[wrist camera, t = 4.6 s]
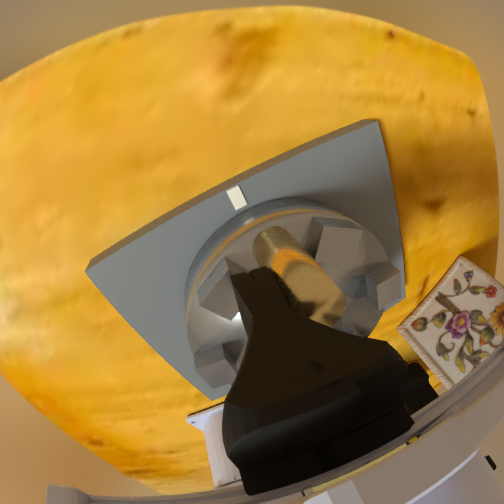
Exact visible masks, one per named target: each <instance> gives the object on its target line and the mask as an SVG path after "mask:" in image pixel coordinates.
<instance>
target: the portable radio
mask: <svg viewBox="0 0 504 504" xmlns="http://www.w3.org/2000/svg"><path fill="white" fill-rule="evenodd" d="M428 379H429V375H428V374H427V373H426V371H425V370H424V369H423V368H422V367H421V365H420V364H419V363H414V364H410V365H408V373H407V377H406V379H405V382H404V384H403V386H402V389H401V391H400V394H401V396H402V397H403V398H404V400H405V404H404V405H403V406H404V407H405V409H406V410H407V412H408V413H409V415H410V416H411V415H412V414H414V413H416V412H417V411H419V410H420V409H422V408H423V407H425V406H426V405H428V404H429V403H431V402H432V401H434V400H435V399H436V398H438V397H439V396H438V394H437V393H436V392H435V390H434V389H433V388H432V386H431V385H430V384H429V380H428ZM420 434H421V433H420ZM420 434H419V435H417V436H415V437H414V438H412V439H411V440H409V441H408V442H406V444H407V445H409V444H411V443H412V442H414V441H415V440H417V439H418V438H419V436H420ZM484 457H485V456H484ZM485 459H486V460H487V462H488V463H489V465H490V466H491V468H492V469H493V471H494V470H495V469H496V465H495V463H494V462H493V461H492V459H491V458H490V456H489V455H488V456H486V457H485Z"/></svg>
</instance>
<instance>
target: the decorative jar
mask: <svg viewBox="0 0 504 504" xmlns="http://www.w3.org/2000/svg"><path fill="white" fill-rule="evenodd" d="M397 330H398V332H399V333H400V334H401V335H402V336H403V338H404V339H405V340H406V341H407V343H408V344H409V345H410V346H411V347H412V349H413V350H414V351H415V352H416V353H417V354H418V355H419V357H420V358H421V359H422V360H423V362H424V363H425V364H426V365H427V366H428V367H429V369H430V370H431V371H432V372H433V373H434V374H435V375H436V376H437V378H438V379H439V380H440V381H441V382H442V383H443V384H444V385H445V387H446V388H447V389H448V390H449V389H450V388H451V387H453V386H454V385H455V384H456V383H458V382H459V381H460V380H462V379H463V378H464V377H465V376H466V375H468V374H469V373H470V372H471V371H472V370H474V369H475V368H476V367H477V366H478V365H479V364H480V363H482V362H483V361H484V360H485V359H486V358H487V357H488V356H489V355H490V354H491V353H492V352H493V351H494V350H496V349H497V348H498V347H499V346H500V345H501V341H502V339H503V338H504V286H503V285H502V284H501V283H500V282H498V281H497V280H496V279H495V278H493V277H492V276H491V275H489V274H488V273H487V272H486V271H484V270H483V269H482V268H480V267H479V266H477V265H476V264H475V263H473V262H471V261H470V260H468V259H467V258H465V257H463V256H459V257H457V259H456V260H455V262H454V263H453V264H452V266H451V267H450V268H449V269H448V271H447V272H446V273H445V275H444V276H443V277H442V279H441V280H440V281H439V282H438V284H437V285H436V286H435V287H434V288H433V289H432V290H431V291H430V293H429V294H428V295H427V296H426V297H425V298H424V300H423V301H422V302H421V303H420V304H419V305H418V306H417V307H416V309H415V310H414V311H413V312H412V313H411V314H410V315H409V316H408V317H407V318H406V319H405V320H404V321H403V322H402V323H401V324H400V325H399V326H398V328H397Z"/></svg>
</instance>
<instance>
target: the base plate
mask: <svg viewBox="0 0 504 504" xmlns="http://www.w3.org/2000/svg"><path fill="white" fill-rule="evenodd" d="M288 198H303V199H311V200H316V201H320V202H323V203H325V204H328V205H331V206H332V207H334V208H336V209H338V210H339V211H341V212H342V213H344V214H345V215H347V216H348V217H350V218H351V219H353V220H354V221H356V222H357V223H359V224H360V225H362V226H363V227H364V228H366V229H367V230H369V231H370V232H371V233H372V234H373V235H374V236H375V237H376V238H377V239H378V241H379V242H380V243H381V245H382V246H383V248H384V250H385V252H386V254H387V257H388V260H389V262H390V263H391V264H392V265H394V266H395V267H396V268H397V269H398V270H400V271H401V298H400V299H398V300H396V301H395V302H393V303H392V304H390V305H388V306H387V307H385V309H384V311H383V312H385V311H386V310H388V309H389V308H391V307H392V306H394V305H395V304H397V303H398V302H400V301H401V300H403V299H404V298H405V297H406V294H405V275H404V262H403V251H402V242H401V233H400V225H399V218H398V212H397V205H396V199H395V193H394V188H393V183H392V178H391V173H390V168H389V163H388V159H387V155H386V150H385V146H384V142H383V138H382V135H381V131H380V127H379V124H378V121H373V120H361V121H359V122H356V123H354V124H351V125H348V126H346V127H343V128H341V129H338V130H336V131H333V132H331V133H329V134H326V135H324V136H321V137H319V138H317V139H314V140H312V141H310V142H307V143H305V144H303V145H300V146H298V147H296V148H294V149H291V150H289V151H287V152H285V153H283V154H280V155H278V156H276V157H274V158H272V159H270V160H268V161H265V162H263V163H261V164H259V165H257V166H255V167H253V168H251V169H249V170H247V171H245V172H243V173H241V174H239V175H237V176H235V177H233V178H231V179H229V180H227V181H225V182H223V183H221V184H219V185H217V186H215V187H213V188H211V189H210V190H208V191H206V192H204V193H202V194H200V195H198V196H196V197H195V198H193V199H191V200H189V201H187V202H185V203H184V204H182V205H180V206H178V207H176V208H175V209H173V210H171V211H169V212H168V213H166V214H164V215H162V216H161V217H159V218H157V219H156V220H154V221H152V222H150V223H149V224H147V225H145V226H144V227H142V228H140V229H139V230H137V231H135V232H134V233H132V234H131V235H129V236H127V237H126V238H124V239H122V240H121V241H119V242H118V243H116V244H114V245H113V246H111V247H110V248H108V249H107V250H105V251H104V252H102V253H100V254H99V255H97V256H96V257H94V258H93V259H91V260H90V262H89V264H88V266H87V268H86V270H85V273H86V274H87V275H88V277H89V278H90V279H91V280H92V282H93V283H94V284H95V285H96V287H97V288H98V289H99V290H100V291H101V293H102V294H103V295H104V296H105V297H106V298H107V300H108V301H109V302H110V303H111V304H112V305H113V306H114V308H115V309H116V310H117V311H118V312H119V313H120V314H121V315H122V317H123V318H124V319H125V320H126V321H127V322H128V323H129V324H130V325H131V326H132V327H133V328H134V329H135V330H136V332H137V333H138V334H139V335H140V336H141V337H142V338H143V339H144V340H145V341H146V342H147V343H148V344H149V345H150V346H151V347H152V348H153V349H154V350H155V351H156V352H157V353H158V354H159V355H160V356H162V357H163V358H164V359H165V360H166V361H167V362H168V363H169V364H170V365H171V366H172V367H173V368H174V369H175V370H177V371H178V372H179V373H180V374H181V375H182V376H183V377H184V378H185V379H187V380H188V381H189V382H190V383H191V384H192V385H194V386H195V387H196V388H197V389H198V390H199V391H201V392H202V393H203V394H204V395H205V396H207V397H208V398H209V399H210V400H212V401H213V400H215V399H218V398H220V397H223V396H225V395H227V394H228V392H229V390H230V388H231V386H232V385H229V384H226V385H223V386H220V387H218V388H215V389H212V388H211V387H210V386H209V385H208V384H207V383H206V381H205V380H204V379H203V378H202V377H201V376H200V375H199V374H198V373H197V372H196V371H195V364H194V357H193V353H192V351H191V349H190V345H189V341H188V336H187V326H186V315H185V301H184V291H185V283H186V279H187V275H188V272H189V269H190V267H191V265H192V262H193V260H194V258H195V256H196V255H197V253H198V252H199V250H200V249H201V247H202V246H203V244H204V243H205V242H206V241H207V240H208V238H209V237H210V236H211V235H212V234H213V233H214V232H215V231H216V230H217V229H219V228H220V227H221V226H222V225H223V224H224V223H226V222H227V221H229V220H230V219H231V218H233V217H234V216H236V215H237V214H239V213H241V212H243V211H245V210H247V209H249V208H251V207H254V206H257V205H259V204H262V203H265V202H269V201H274V200H278V199H288Z"/></svg>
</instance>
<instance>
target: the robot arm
mask: <svg viewBox="0 0 504 504" xmlns="http://www.w3.org/2000/svg"><path fill="white" fill-rule="evenodd" d="M230 279H231V283H232V286H233V290H234V294H235V298H236V302H237V305H238V309H239V313H240V316H241V319H242V322H243V325H244V328H245V331H246V334H247V337H248V341H247V345H246V349H245V353H244V356H243V359H242V362H241V365H240V367H239V370H238V373H237V375H236V378H235V380H234V382H233V384H232V386H231V388H230V390H229V392H228V394H227V396H226V398H225V401H224V403H223V404H220V405H218V406H215V407H213V408H210V409H207V410H205V411H202V412H199V413H196V414H193V415H190V416H188V417H186V421H187V422H188V423H190V424H191V425H193V426H195V427H196V428H198V429H199V430H201V431H203V432H204V437H205V443H206V448H207V453H208V458H209V463H210V467H211V472H212V477H213V481H214V485H215V488H213V489H214V490H210V491H204V492H196V493H188V494H178V495H166V496H144V497H142V496H141V497H126V496H103V495H90V494H87V493H86V492H84V491H82V490H80V489H77V488H74V487H70V486H64V485H58V484H52V483H48V484H47V498H46V504H504V486H503V485H502V483H501V482H500V480H499V478H498V477H497V475H496V474H495V472H494V471H493V469H492V468H491V466H490V465H489V463H488V462H487V460H486V459H485V457H484V456H483V454H482V453H481V451H480V450H479V448H480V444H481V443H482V442H483V441H484V440H485V439H486V438H487V437H488V436H489V435H490V434H491V433H492V432H493V431H494V430H495V429H496V428H497V426H498V425H499V424H500V423H501V422H502V421H503V420H504V338H503V339H502V341H501V345H500V346H499V347H498V348H497V349H496V350H494V351H493V352H492V353H491V354H490V355H489V356H488V357H487V358H486V359H485V360H484V361H483V362H482V363H480V364H479V365H478V366H477V367H476V368H475V369H474V370H472V371H471V372H470V373H469V374H468V375H466V376H465V377H464V378H463V379H462V380H460V381H459V382H458V383H456V384H455V385H454V386H453V387H451V388H450V389H449V390H447V391H446V392H445V393H444V394H442V395H441V396H439V397H438V398H436V399H435V400H434V401H432V402H431V403H429V404H428V405H426V406H425V407H423V408H422V409H420V410H419V411H417V412H416V413H414V414H412V415H411V416H410V415H409V413H408V412H407V410H406V409H405V407H404V406H403V405H404V404H405V400H404V398H403V397H402V396H401V394H400V391H401V389H402V386H403V384H404V382H405V379H406V377H407V373H408V365H407V363H406V362H405V360H404V359H403V358H402V357H401V355H400V354H399V353H398V352H397V351H396V350H395V349H394V348H393V347H392V346H391V345H390V344H389V343H388V342H387V341H382V340H377V339H372V338H366V337H361V336H357V335H353V334H350V333H346V332H343V331H339V330H336V329H334V328H331V327H328V326H326V325H323V324H321V323H318V322H316V321H314V320H312V319H310V318H308V317H306V316H304V315H302V314H300V313H298V312H296V311H295V310H293V309H291V308H290V307H289V306H288V304H287V302H286V300H285V298H284V296H283V294H282V292H281V290H280V288H279V286H278V284H277V282H276V280H275V278H274V276H273V274H272V272H271V271H270V270H269V269H268V268H267V267H266V266H263V267H260V268H256V269H253V270H250V272H249V273H246V272H242V273H239V274H235V275H231V276H230ZM420 433H421V434H420ZM419 434H420V436H419V438H418V439H417V440H415V441H414V442H412V443H411V444H409V445H407V446H406V447H404V448H403V449H401V450H399V451H398V452H396V453H394V454H392V455H391V456H389V457H387V458H385V459H383V460H382V461H380V462H378V463H376V464H374V465H372V466H370V467H368V468H366V469H364V470H362V471H360V472H358V473H356V474H354V475H352V476H349V477H347V478H346V479H343V480H341V481H339V482H336V483H334V484H332V485H330V486H327V487H326V488H323V489H322V490H319V491H317V492H314V491H313V489H312V487H315V486H318V485H321V484H323V483H326V482H328V481H331V480H333V479H336V478H338V477H340V476H343V475H345V474H347V473H349V472H352V471H354V470H356V469H358V468H360V467H362V466H364V465H366V464H368V463H370V462H372V461H374V460H376V459H378V458H380V457H382V456H384V455H385V454H387V453H389V452H391V451H393V450H394V449H396V448H398V447H399V446H401V445H403V444H404V443H406V442H408V441H409V440H411V439H412V438H414V437H415V436H417V435H419Z"/></svg>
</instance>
